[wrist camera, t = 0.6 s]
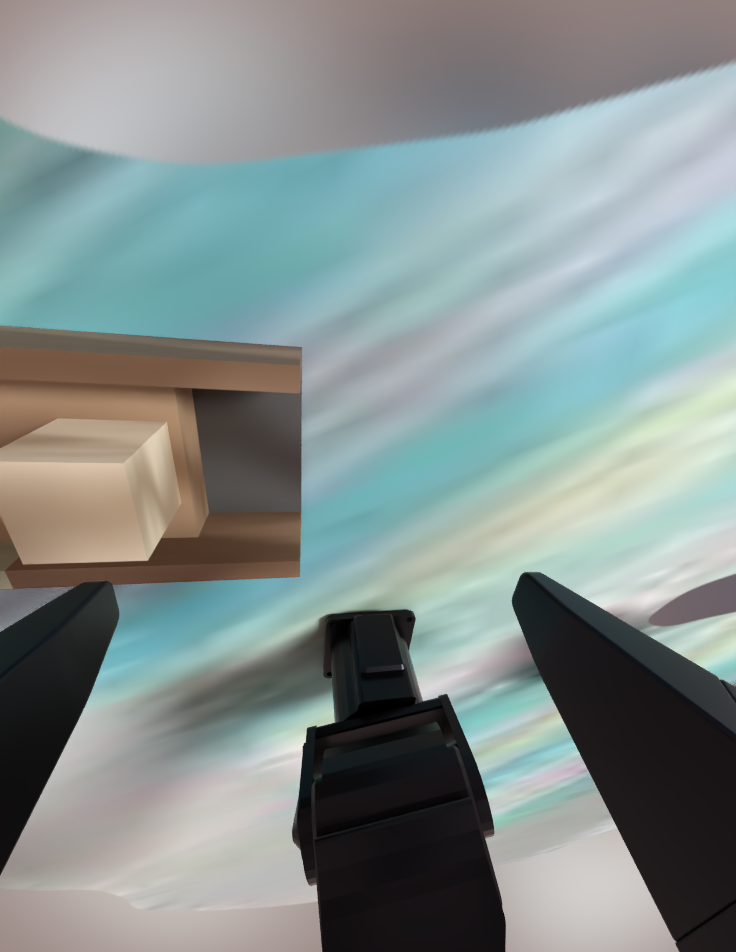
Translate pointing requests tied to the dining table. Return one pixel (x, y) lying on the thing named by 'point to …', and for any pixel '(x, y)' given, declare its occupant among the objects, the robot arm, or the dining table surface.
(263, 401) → the trap box
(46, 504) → the birch block
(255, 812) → the dining table surface
